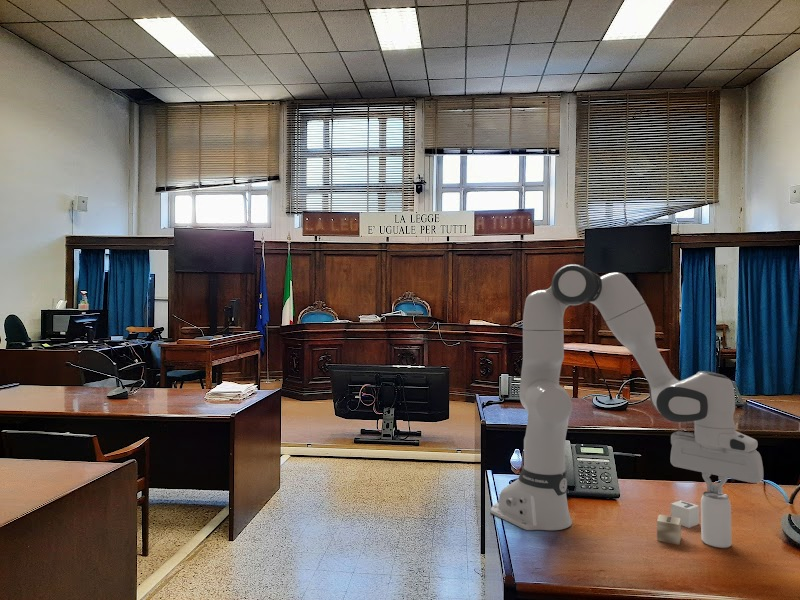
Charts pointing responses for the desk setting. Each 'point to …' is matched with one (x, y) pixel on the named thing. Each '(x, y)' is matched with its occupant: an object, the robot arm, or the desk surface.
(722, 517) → the can
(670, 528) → the birch block
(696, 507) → the white block
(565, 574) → the desk surface
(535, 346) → the robot arm
